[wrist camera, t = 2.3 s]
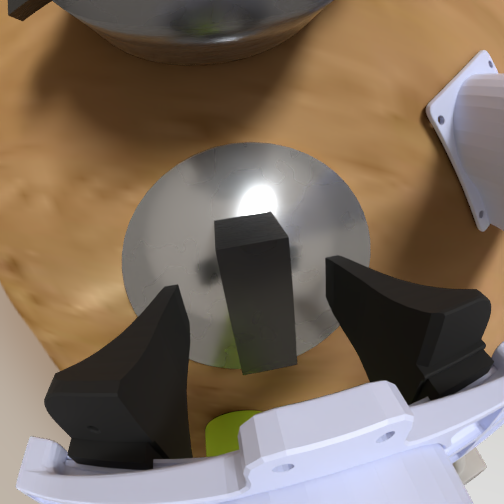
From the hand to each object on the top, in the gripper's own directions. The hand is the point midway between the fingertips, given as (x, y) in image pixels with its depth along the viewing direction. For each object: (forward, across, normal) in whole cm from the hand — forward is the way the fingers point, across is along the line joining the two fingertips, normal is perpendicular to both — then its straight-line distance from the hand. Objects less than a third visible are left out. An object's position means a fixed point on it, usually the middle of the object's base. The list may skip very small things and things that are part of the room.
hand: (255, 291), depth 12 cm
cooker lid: (+2, 0, 0) cm, 2 cm away
